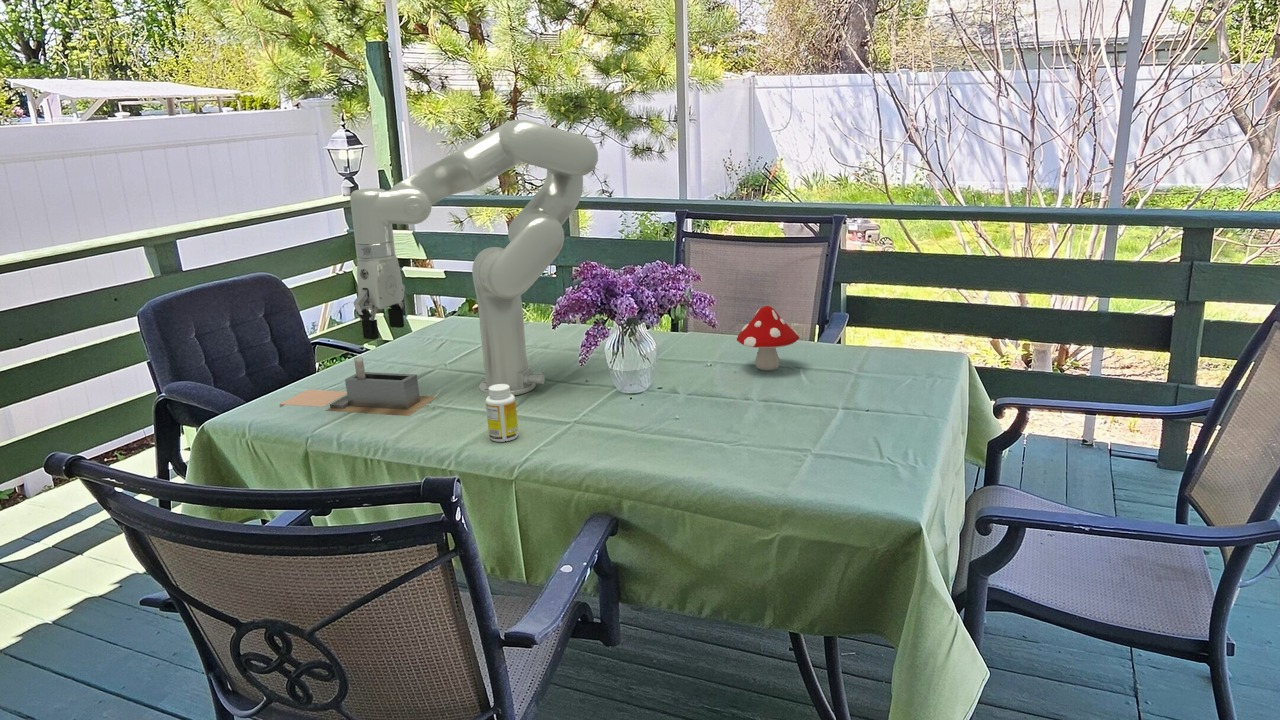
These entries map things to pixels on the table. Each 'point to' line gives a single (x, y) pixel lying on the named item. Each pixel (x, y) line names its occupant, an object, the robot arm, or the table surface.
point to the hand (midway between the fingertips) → (384, 332)
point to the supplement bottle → (501, 413)
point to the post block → (344, 406)
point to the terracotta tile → (314, 398)
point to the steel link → (383, 390)
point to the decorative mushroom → (767, 337)
